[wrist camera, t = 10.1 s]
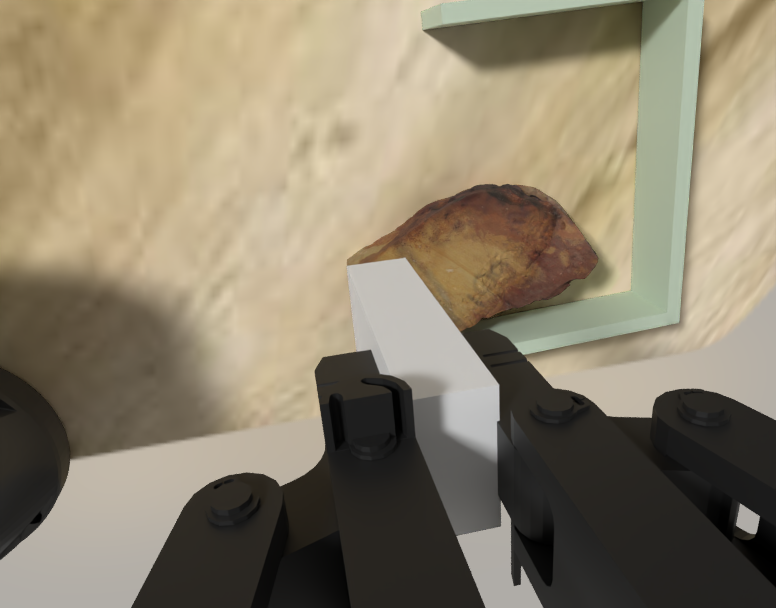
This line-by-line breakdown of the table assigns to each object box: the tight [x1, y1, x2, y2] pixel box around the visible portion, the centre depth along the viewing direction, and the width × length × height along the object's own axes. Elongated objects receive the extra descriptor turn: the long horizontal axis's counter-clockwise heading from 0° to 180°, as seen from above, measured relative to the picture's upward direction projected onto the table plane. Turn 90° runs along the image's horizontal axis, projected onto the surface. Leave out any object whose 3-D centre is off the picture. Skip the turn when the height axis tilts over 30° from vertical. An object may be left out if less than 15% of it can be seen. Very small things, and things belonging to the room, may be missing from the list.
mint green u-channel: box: [421, 0, 704, 355], centre depth 38 cm, size 16×22×4 cm
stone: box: [347, 184, 598, 332], centre depth 39 cm, size 15×9×5 cm, turn 117°
